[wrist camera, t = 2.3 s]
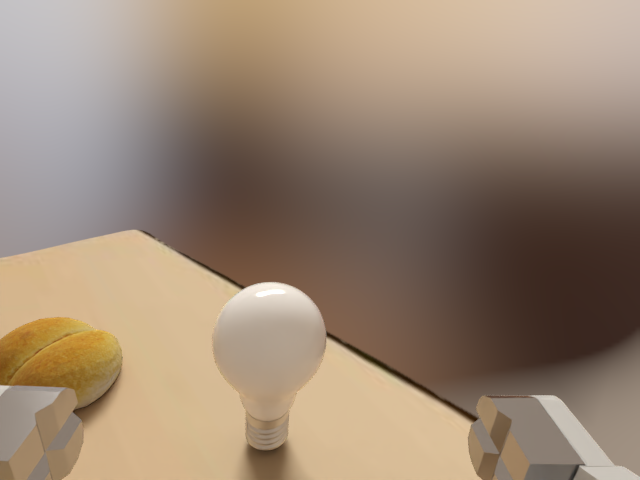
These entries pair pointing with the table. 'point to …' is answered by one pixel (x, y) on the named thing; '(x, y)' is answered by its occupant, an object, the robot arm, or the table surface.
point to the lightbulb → (268, 354)
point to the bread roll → (61, 357)
